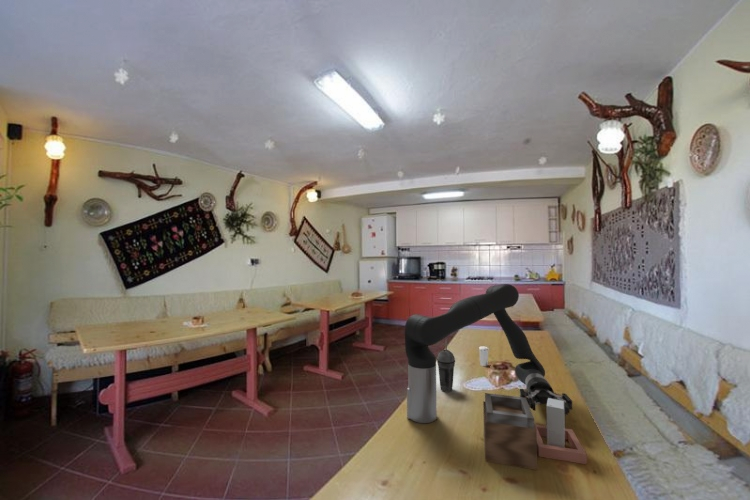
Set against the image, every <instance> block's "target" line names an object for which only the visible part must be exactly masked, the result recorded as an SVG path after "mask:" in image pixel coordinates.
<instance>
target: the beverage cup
mask: <svg viewBox="0 0 750 500" xmlns="http://www.w3.org/2000/svg"><path fill="white" fill-rule="evenodd" d="M436 364H437V366H438V376H439V386H440V390H441V392H446V393H450V392H452V391H453V386H454V385H453V384H454V373H455V372H454V370H455V365H456V358H455V355H454V353H453V352H451V351H450V350H449V349H448V339H447V337H445V349H442V350H440V352H439V353H438V354H437V357H436Z"/></svg>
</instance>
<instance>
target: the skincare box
mask: <svg viewBox="0 0 750 500" xmlns="http://www.w3.org/2000/svg"><path fill="white" fill-rule="evenodd" d="M565 415H566V414H565V413H564V401H561V400H556V399H551V398H548V400H547V404H546V426H547V437H546V445H550V446H557V447H564V448H566V443H565V442H566V440H565V428H566V423H565V422H566V421H565V420H566V419H565V418H566V416H565Z"/></svg>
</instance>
